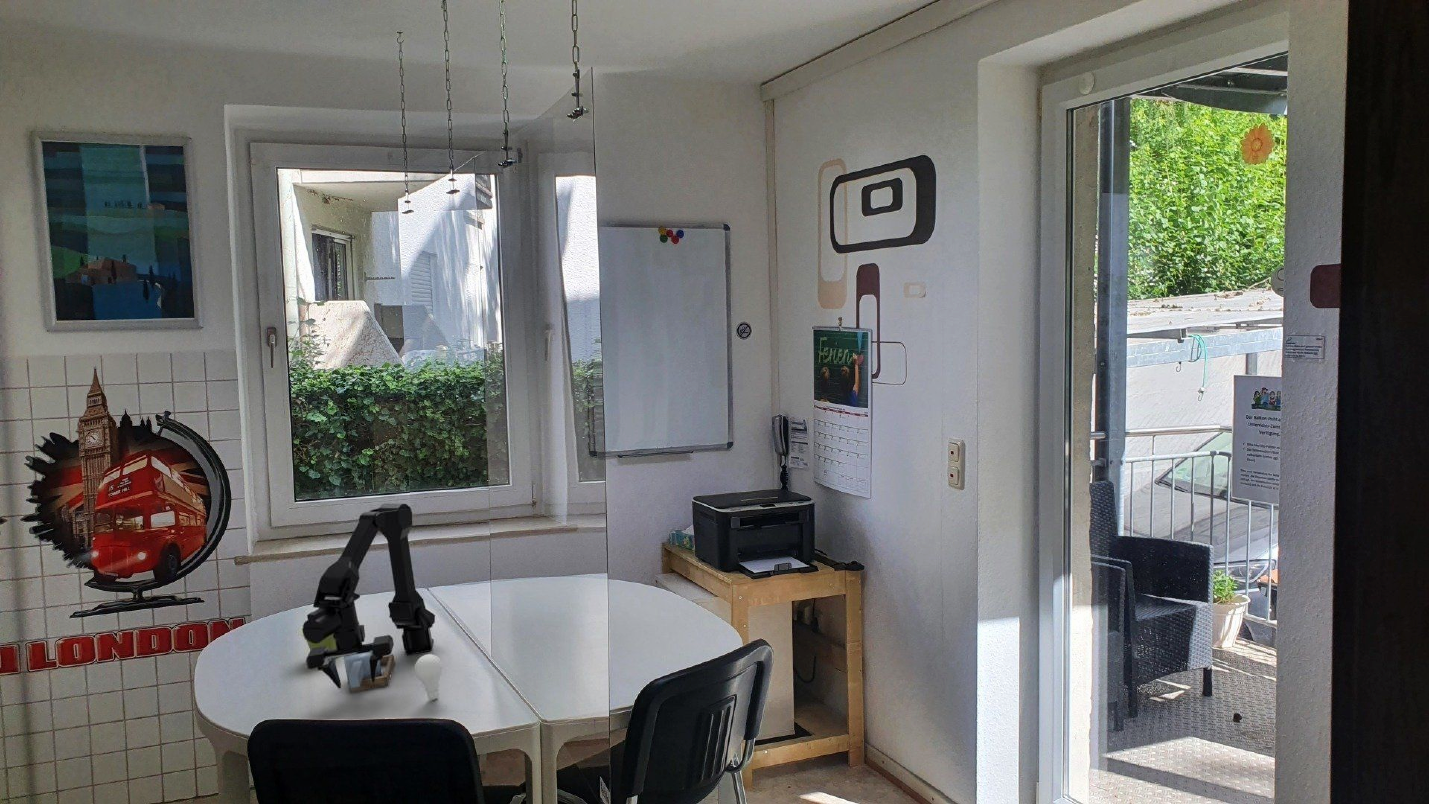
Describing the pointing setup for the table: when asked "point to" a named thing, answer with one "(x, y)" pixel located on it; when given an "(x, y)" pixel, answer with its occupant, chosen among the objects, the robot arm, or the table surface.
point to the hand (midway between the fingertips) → (356, 684)
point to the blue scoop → (359, 668)
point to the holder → (380, 680)
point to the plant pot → (323, 643)
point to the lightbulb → (429, 674)
